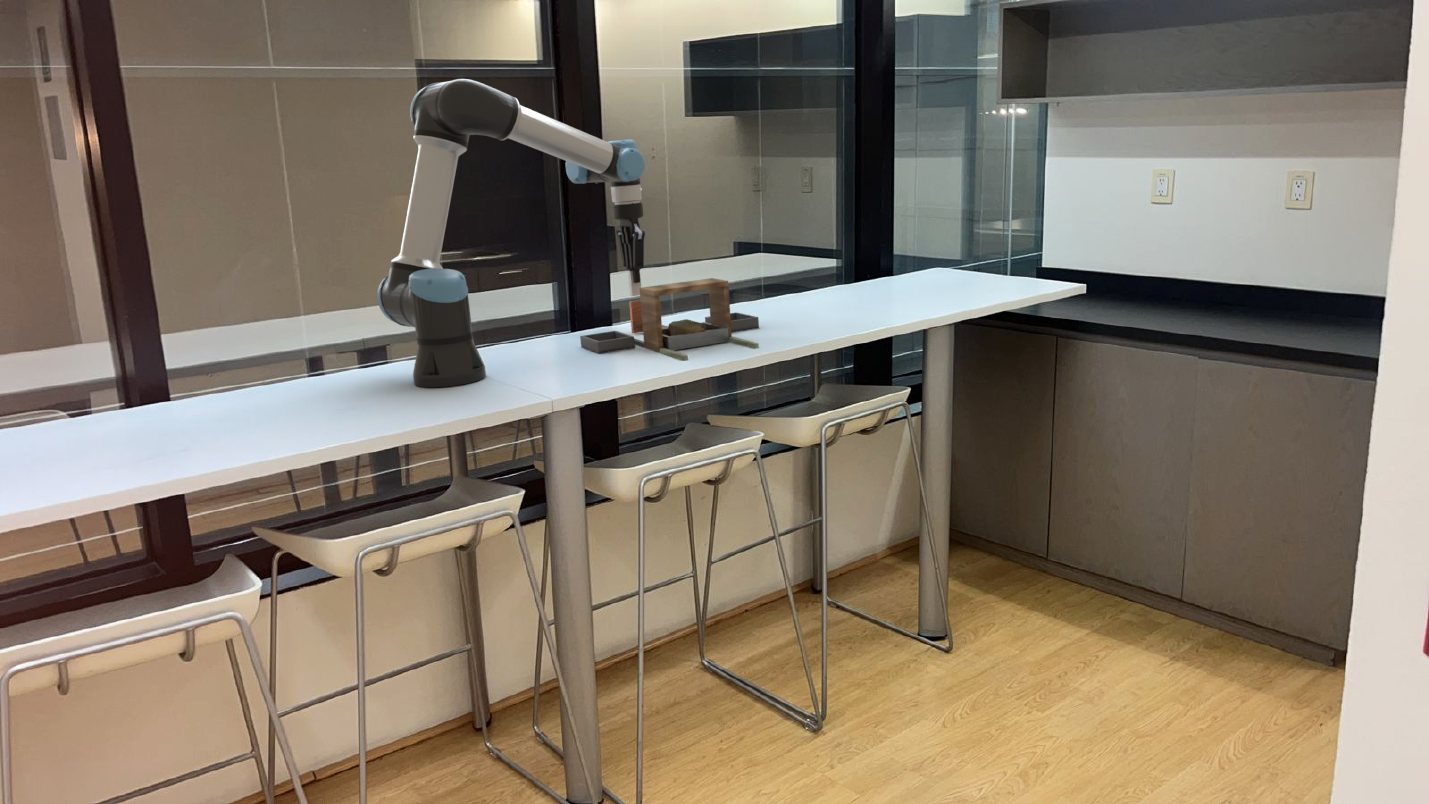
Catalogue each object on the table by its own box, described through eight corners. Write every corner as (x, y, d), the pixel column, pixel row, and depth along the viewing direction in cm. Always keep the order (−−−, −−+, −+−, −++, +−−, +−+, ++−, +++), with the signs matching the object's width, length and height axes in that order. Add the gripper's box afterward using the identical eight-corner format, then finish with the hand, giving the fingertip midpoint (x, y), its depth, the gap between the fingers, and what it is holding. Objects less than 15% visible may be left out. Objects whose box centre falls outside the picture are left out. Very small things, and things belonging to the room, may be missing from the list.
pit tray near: (598, 353, 246) (597, 342, 245) (581, 347, 255) (580, 335, 255) (634, 348, 250) (633, 336, 249) (616, 341, 259) (615, 330, 259)
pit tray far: (726, 333, 261) (726, 322, 260) (705, 327, 270) (704, 317, 270) (758, 328, 265) (758, 317, 264) (737, 323, 275) (736, 312, 274)
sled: (669, 351, 242) (666, 316, 240) (618, 334, 267) (615, 303, 265) (728, 341, 249) (726, 307, 247) (673, 326, 274) (671, 295, 272)
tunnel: (683, 360, 232) (678, 296, 228) (616, 338, 264) (611, 282, 260) (758, 347, 240) (755, 285, 237) (685, 328, 272) (681, 273, 269)
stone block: (689, 338, 256) (688, 317, 255) (709, 345, 246) (707, 324, 245) (667, 341, 254) (666, 320, 253) (686, 348, 244) (684, 327, 243)
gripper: (651, 201, 263) (660, 295, 269) (630, 200, 275) (639, 290, 281) (624, 204, 260) (633, 299, 266) (603, 203, 271) (612, 294, 277)
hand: (636, 295), depth 273 cm, fingers closed
